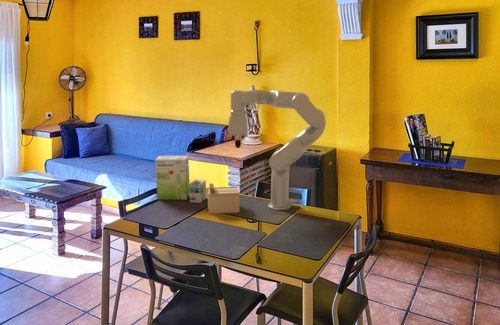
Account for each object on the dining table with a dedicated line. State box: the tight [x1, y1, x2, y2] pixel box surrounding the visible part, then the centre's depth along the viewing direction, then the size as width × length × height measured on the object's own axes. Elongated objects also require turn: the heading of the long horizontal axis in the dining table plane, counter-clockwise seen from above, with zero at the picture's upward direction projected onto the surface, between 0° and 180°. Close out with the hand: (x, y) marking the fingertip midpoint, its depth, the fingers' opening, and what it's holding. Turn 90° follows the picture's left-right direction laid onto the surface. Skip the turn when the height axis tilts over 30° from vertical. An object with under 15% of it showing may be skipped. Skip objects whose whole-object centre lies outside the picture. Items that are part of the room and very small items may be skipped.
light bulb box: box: [189, 179, 207, 204], centre depth 238 cm, size 11×7×11 cm, turn 168°
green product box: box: [154, 155, 190, 201], centre depth 241 cm, size 18×10×24 cm, turn 88°
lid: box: [207, 183, 240, 194], centre depth 221 cm, size 16×10×4 cm, turn 99°
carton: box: [206, 186, 240, 215], centre depth 223 cm, size 16×12×11 cm
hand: (237, 147), depth 226 cm, fingers closed
